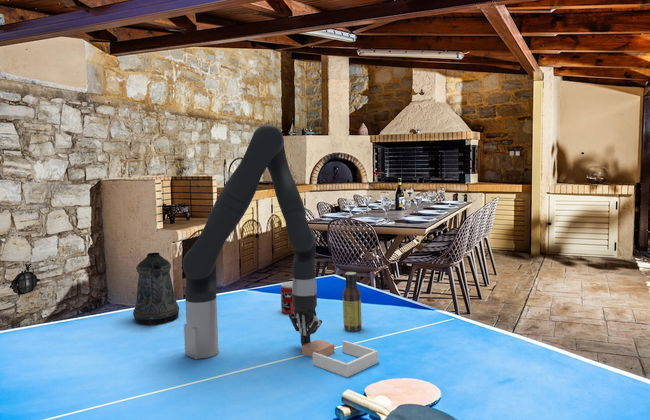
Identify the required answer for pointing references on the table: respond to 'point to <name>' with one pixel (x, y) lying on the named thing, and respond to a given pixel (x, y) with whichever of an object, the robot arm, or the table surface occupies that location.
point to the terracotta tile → (318, 348)
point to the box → (347, 369)
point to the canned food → (286, 298)
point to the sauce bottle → (351, 303)
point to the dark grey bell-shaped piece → (155, 292)
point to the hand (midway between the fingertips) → (305, 346)
